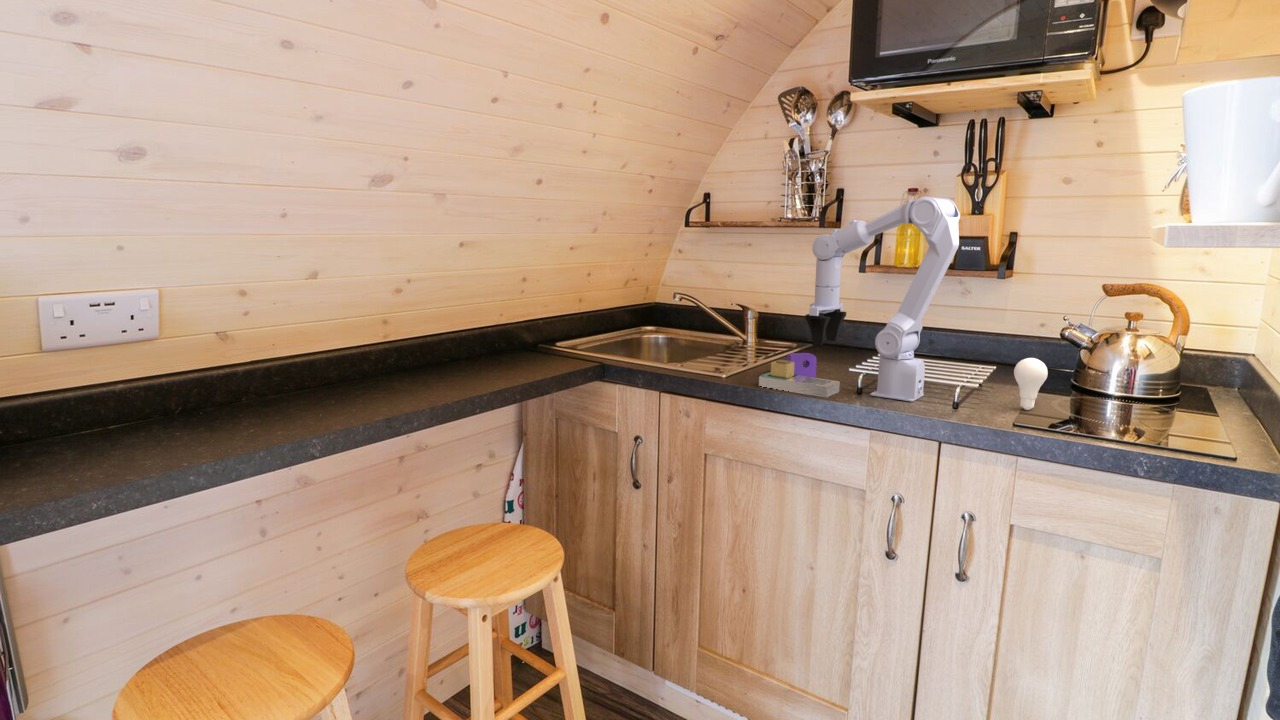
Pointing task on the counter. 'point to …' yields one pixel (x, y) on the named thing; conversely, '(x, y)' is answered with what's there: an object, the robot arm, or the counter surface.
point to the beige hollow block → (782, 369)
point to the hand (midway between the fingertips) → (824, 342)
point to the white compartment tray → (801, 385)
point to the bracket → (799, 369)
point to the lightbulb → (1030, 380)
